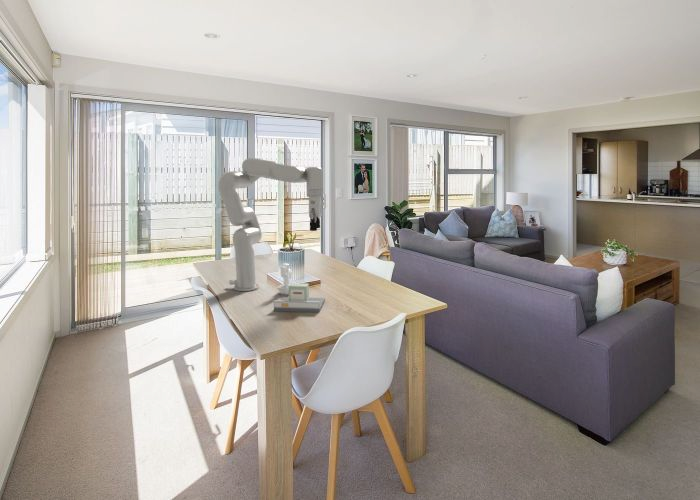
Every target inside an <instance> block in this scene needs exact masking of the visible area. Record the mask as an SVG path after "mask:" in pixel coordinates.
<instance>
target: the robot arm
mask: <svg viewBox="0 0 700 500" xmlns="http://www.w3.org/2000/svg"><path fill="white" fill-rule="evenodd" d="M241 169H242V170H241V171H234V170H233V171H226V172H225V173H223V174H222V176H221V177H220V179H219V181H218V185H217V186H218V192H219V194H220V195H219V196H220V197H221V199H222V202H223V205H224V208H225V212H226V214H227V218H228V220H229V223H230V224H231V225H232V226H235V227H240V226H241V227H240V228H239V229H236V230H235V231H234V233H233V234H232V244H233V247H234V254H235V255H234V258H235V272H236V273H235V274H236V276H235V277H236V279H235V280H233V279H230V280H229V281H228V284H229V285H234V286H233V290H235V291H238V292H250V291H255V290H258V289H259V287H260V285H259V284H258V283H256V282H257V281H256V261H255V260H256V257H255V251H254V248H253V245H255V244H258V243H259V242H260V241H261V240H262V236H263V235H262V230H261V227H260V224H259V223H260V222H259V220H258V217H257V215H256V212H255V211H254V209H253V208H252V207H250V206H246V205H245V206H244V205H243V202H242V200H241V197H240V195H239V193H238V192H237V189H246V188H249V187H250V186H251V185H253V184H254V183H255V182H257V181H258V180H260V179H261V178H262V179H263V178H264V179H269V180H273V181H275V180H276V181H280V182H287V183H290V184H291V183H292V184H296V183H299V184H300V183H301V184H302V183H305V184H306V197H308V217H309V231H311V232H317V231H318V229H320V228H321V217H323V209H322V208H323V205H322V197H323V196H324V195H323V169H322V167H321V166H320V167H319V166H308V167H305V166H294V165H288V164H287V165H286V164H281V163H278V162H276V161H273V160H266V159H261V158H255V157H249V158H246V159H244V160H243V162H242V164H241Z"/></svg>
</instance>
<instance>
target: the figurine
mask: <svg viewBox="0 0 700 500" xmlns="http://www.w3.org/2000/svg"><path fill="white" fill-rule="evenodd" d="M280 277H281V278H283V283H281V284H280V285H278V286H277V290H278V291H279V293H280V295H288V296H289V291H288V286H289V285H290V284H291V283H290V280H291V279H292V278H293V277H292V270H291V268H290V264H289V263H282V266H281V267H280Z"/></svg>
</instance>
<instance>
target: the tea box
mask: <svg viewBox="0 0 700 500" xmlns="http://www.w3.org/2000/svg"><path fill="white" fill-rule="evenodd" d="M289 284H290V285H289V286H288V291H289V295H288V297H289V301H309V298H310V285H309V283H303V282H301V283H299V282H297V283H296V282H292V283H289Z"/></svg>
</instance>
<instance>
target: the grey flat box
mask: <svg viewBox="0 0 700 500" xmlns="http://www.w3.org/2000/svg"><path fill="white" fill-rule="evenodd" d="M325 302H326V298H325V297H309V301H289V296H282V297H281V298H280V300H276V299H275V300H273V311H274V312H292V313H293V312H296V313H297V312H299V313H300V312H301V313H321V310H322V308H323V306H324V304H325Z"/></svg>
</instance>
